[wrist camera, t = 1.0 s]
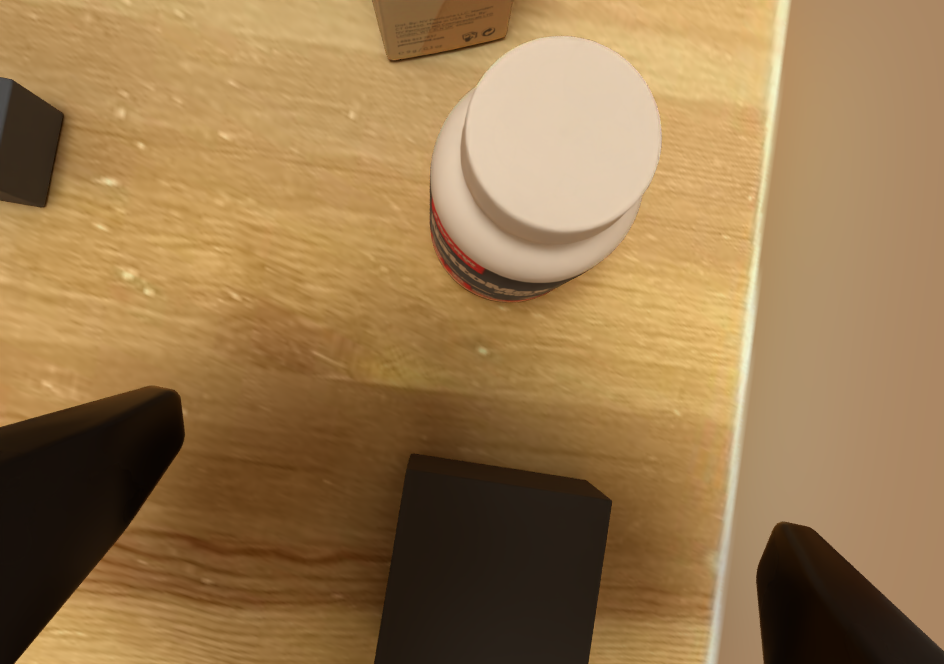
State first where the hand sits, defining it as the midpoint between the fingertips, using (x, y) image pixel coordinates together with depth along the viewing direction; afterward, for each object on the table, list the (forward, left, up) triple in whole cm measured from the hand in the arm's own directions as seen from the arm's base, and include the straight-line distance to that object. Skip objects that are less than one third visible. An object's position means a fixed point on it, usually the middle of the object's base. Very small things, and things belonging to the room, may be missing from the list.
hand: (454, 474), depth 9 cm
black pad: (-5, -2, -11) cm, 13 cm away
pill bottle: (+6, -1, -12) cm, 13 cm away
